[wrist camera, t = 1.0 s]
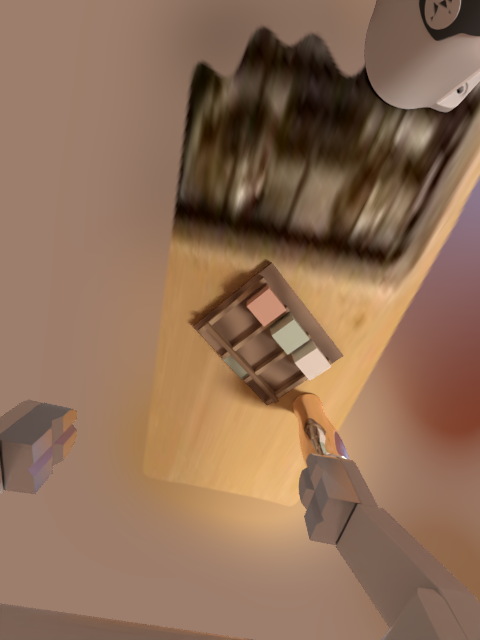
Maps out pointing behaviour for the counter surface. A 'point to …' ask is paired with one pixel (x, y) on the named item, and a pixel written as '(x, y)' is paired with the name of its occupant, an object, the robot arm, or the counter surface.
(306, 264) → the counter surface
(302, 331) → the sage green cube
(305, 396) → the beer glass
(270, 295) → the salmon pink cube
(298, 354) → the pale pink cube
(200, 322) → the brown compartment tray
